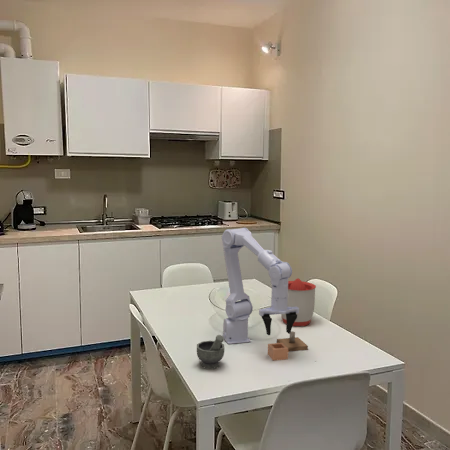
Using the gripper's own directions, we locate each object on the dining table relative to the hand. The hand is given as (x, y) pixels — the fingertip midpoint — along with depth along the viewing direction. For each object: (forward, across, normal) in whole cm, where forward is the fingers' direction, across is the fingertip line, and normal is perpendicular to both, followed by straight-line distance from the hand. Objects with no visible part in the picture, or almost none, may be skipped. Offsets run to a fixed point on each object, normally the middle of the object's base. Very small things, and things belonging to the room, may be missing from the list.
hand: (278, 333), depth 164 cm
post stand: (+9, +9, +8) cm, 15 cm away
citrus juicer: (+9, +21, +33) cm, 40 cm away
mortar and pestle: (+9, -25, -2) cm, 27 cm away
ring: (+9, 0, 0) cm, 9 cm away
